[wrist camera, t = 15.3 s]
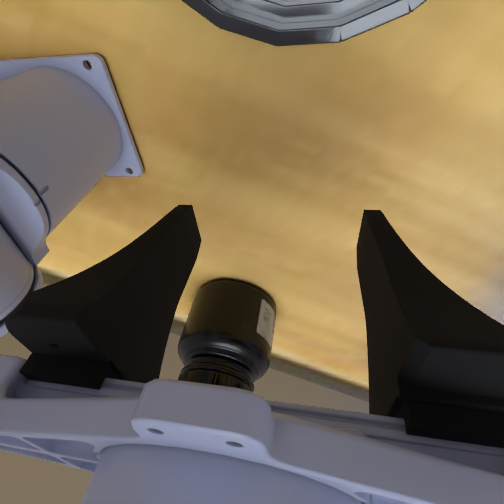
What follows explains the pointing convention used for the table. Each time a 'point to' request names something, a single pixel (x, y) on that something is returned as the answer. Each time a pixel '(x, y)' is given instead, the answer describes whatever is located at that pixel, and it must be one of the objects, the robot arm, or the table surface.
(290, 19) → the pan
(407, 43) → the table surface
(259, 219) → the table surface
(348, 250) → the table surface
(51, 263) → the table surface
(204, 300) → the ink bottle
